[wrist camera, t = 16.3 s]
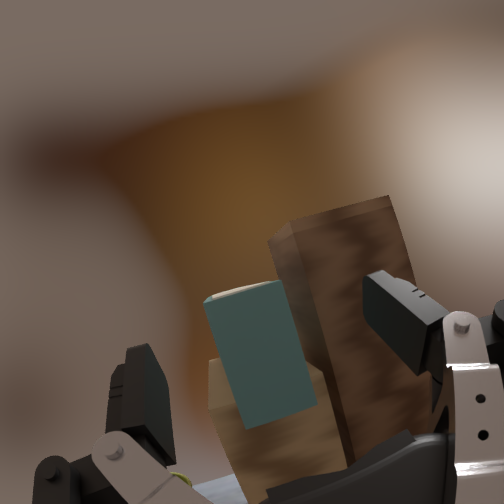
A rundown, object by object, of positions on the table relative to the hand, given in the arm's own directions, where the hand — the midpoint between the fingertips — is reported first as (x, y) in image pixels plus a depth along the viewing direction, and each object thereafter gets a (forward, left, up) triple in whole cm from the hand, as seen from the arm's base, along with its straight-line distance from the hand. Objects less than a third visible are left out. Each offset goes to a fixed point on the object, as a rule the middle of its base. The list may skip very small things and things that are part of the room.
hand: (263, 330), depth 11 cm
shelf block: (0, -17, -27) cm, 32 cm away
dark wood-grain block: (-11, -18, -27) cm, 34 cm away
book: (0, -15, -6) cm, 16 cm away
